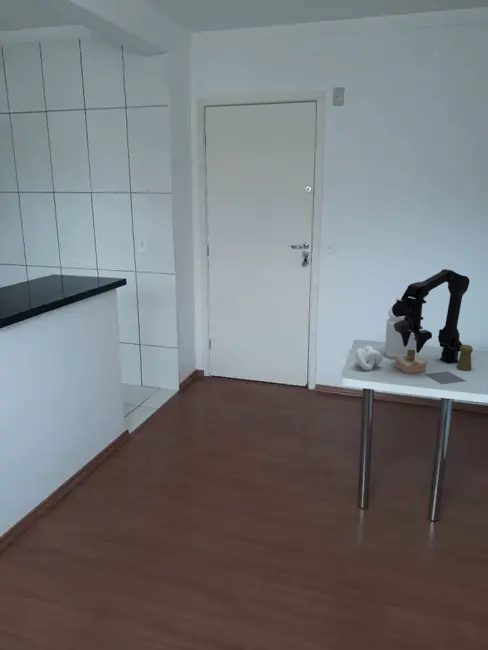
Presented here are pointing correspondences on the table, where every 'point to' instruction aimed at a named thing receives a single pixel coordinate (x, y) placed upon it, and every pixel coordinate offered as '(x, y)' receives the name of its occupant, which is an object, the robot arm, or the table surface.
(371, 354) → the white decorative knot
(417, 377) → the table surface
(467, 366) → the olive pestle
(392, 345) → the bottle
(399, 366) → the pink open box
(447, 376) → the mat
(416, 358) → the lid
